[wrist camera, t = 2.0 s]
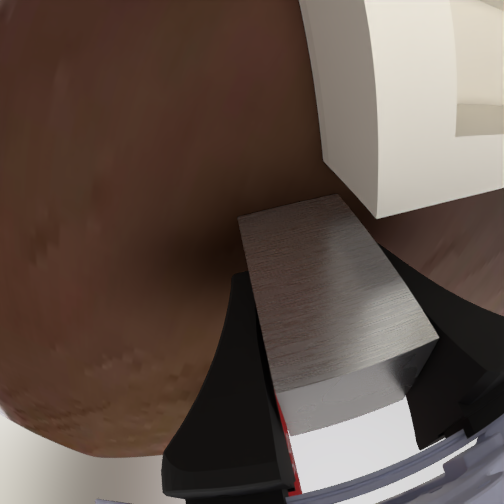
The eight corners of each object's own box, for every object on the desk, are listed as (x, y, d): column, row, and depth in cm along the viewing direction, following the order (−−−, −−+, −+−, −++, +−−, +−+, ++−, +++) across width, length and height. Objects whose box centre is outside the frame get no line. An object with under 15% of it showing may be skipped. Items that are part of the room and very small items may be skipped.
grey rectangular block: (337, 193, 11) (439, 337, 6) (338, 267, 14) (402, 399, 8) (237, 217, 11) (275, 394, 6) (256, 289, 14) (290, 436, 8)
